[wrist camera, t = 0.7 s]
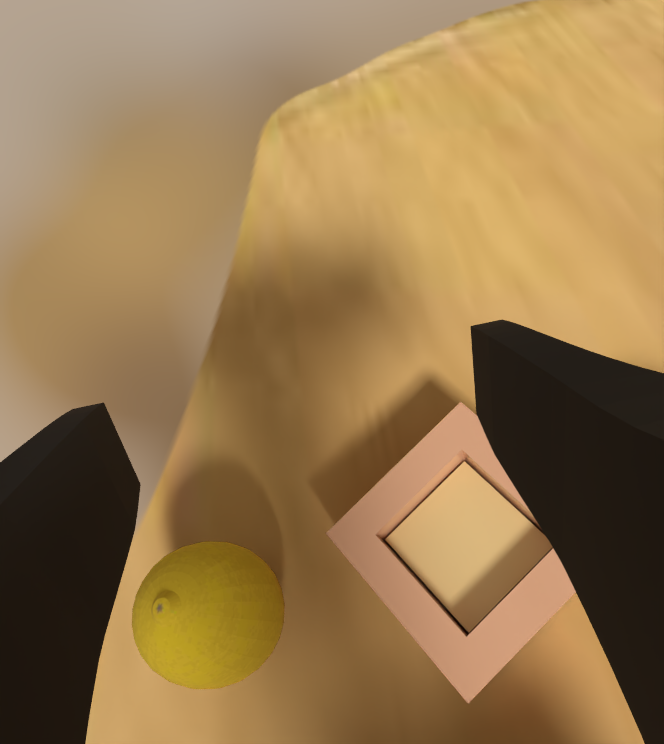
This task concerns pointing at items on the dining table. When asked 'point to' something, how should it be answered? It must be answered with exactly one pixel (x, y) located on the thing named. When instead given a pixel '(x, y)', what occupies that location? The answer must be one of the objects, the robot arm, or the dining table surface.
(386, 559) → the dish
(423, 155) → the dining table surface
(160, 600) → the lemon
